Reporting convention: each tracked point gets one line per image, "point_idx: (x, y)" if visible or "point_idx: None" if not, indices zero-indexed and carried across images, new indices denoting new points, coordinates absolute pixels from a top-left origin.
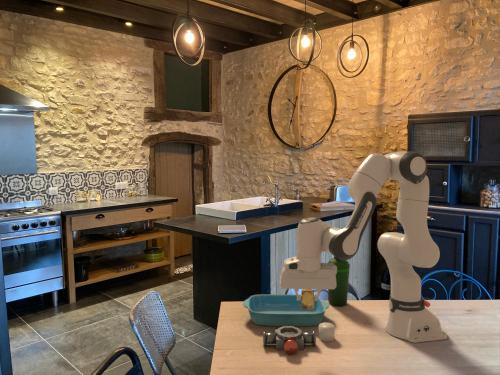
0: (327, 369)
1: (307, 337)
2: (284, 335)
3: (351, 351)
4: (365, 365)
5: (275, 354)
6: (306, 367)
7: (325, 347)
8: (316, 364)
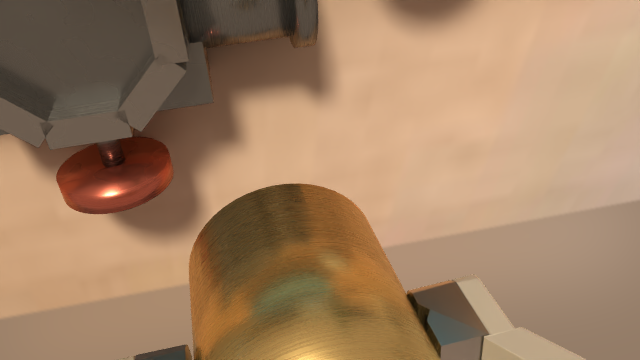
0: None
1: (243, 42)
2: (30, 128)
3: (528, 44)
4: (541, 181)
5: (5, 156)
6: None
7: (371, 8)
8: None
